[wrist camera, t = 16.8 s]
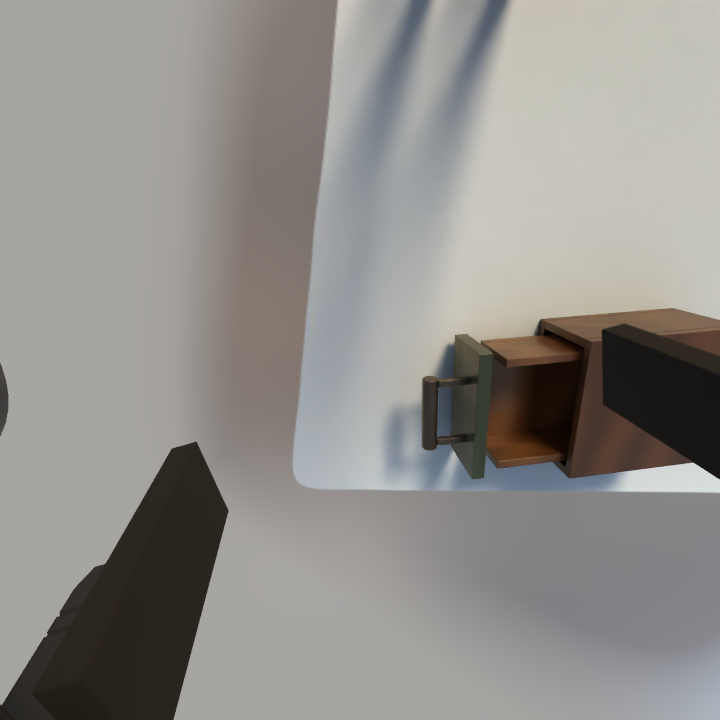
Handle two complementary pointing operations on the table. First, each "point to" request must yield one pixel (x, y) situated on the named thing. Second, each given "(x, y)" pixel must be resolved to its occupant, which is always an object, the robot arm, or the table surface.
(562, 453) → the drawer
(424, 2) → the table surface
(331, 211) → the table surface
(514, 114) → the table surface
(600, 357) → the cabinet
